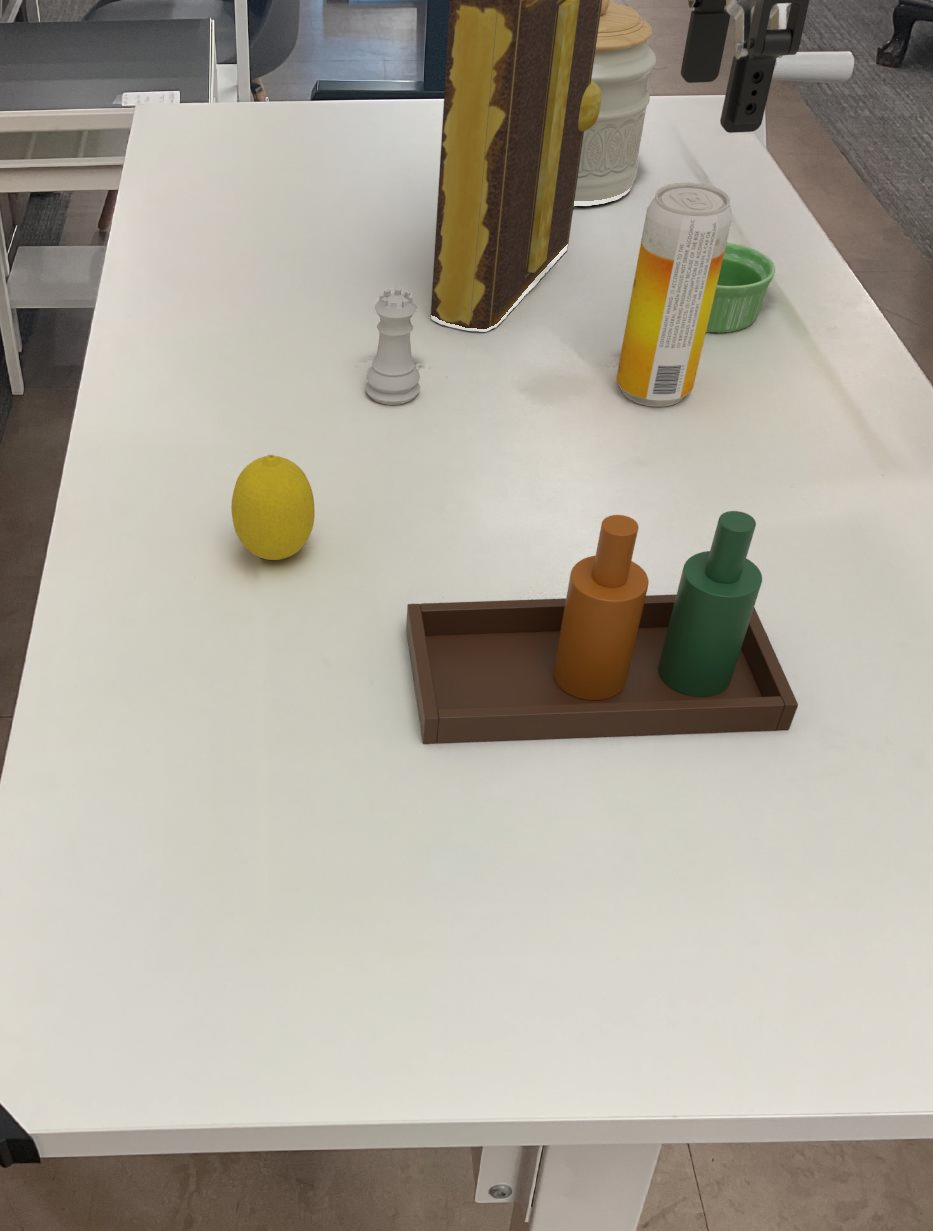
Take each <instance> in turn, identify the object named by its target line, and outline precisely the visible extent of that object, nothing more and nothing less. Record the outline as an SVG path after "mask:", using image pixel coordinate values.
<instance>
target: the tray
mask: <svg viewBox="0 0 933 1231" xmlns="http://www.w3.org/2000/svg"><path fill="white" fill-rule="evenodd" d="M676 595H677V593H676V594H652V595H651V594H649V595H647V594H646V597H645V602H644V606H643V610H642V615H641V619H640V623H639V628H638V632H637V636H636V641H635V645H634V649H633V654H632V658H631V662H630V667H629V671H628V675H627V680H626V684H625V686H624V688H623V689H622V691H621V692H620V693H618V694H617V695H615V696H614V697H611V698H609V699H605V700H597V701H592V700H584V699H580V698H576V697H574V696H571V695H569V694H568V693H566V692H565V691H563V690H562V689H561V688H560V687H559V686H558V685H557V683H556V681H555V678H554V666H555V660H556V655H557V649H558V643H559V637H560V632H561V626H562V620H563V614H564V608H565V603H566V598H562V597H561V598H537V599H535V598H534V599H512V600H509V599H508V600H482V601H481V600H480V601H478V600H477V601H454V602H426V603H425V602H424V603H422V602H421V603H407V606H406V622H405V623H406V624H405V630H406V638H407V644H408V645H407V646H408V651H409V658H410V665H411V670H412V671H411V672H412V678H413V685H414V693H415V698H416V707H417V712H418V719H419V726H420V733H421V739H422V744H423V745H442V744H443V745H444V744H466V743H467V744H468V743H493V742H497V743H498V742H521V741H548V740H572V739H573V740H575V739H601V738H623V737H624V738H627V737H628V738H629V737H651V736H653V737H655V736H675V735H676V736H679V735H680V736H681V735H703V734H727V733H730V734H731V733H732V734H733V733H754V732H755V733H756V732H757V733H758V732H781V731H782V732H783V731H789V730H790V728H791V725H792V723H793V720H794V718H795V715H796V712H797V709H798V706H799V703H798V701H797V698H796V696H795V694H794V692H793V690H792V688H791V685H790V683H789V681H788V679H787V676H786V674H785V672H784V669H783V667H782V665H781V663H780V661H779V659H778V656H777V654H776V652H775V650H774V647H773V645H772V643H771V640H770V639H769V636H768V633H767V632H766V630H765V627H764V625H763V623H762V621H761V619H760V616H759V614H758V612H757V610H756V607H755V606H754V609H753V612H752V615H751V619H750V622H749V625H748V628H747V631H746V635H745V638H744V641H743V644H742V647H741V650H740V654H739V657H738V660H737V663H736V666H735V670H734V673H733V676H732V679H731V682H730V684H729V686H728V687H727V688H726V689H725V690H724V691H723V692H721V693H719V694H716V695H713V696H708V697H696V696H689V695H685V694H682V693H680V692H677V691H675V690H674V689H672V688H670V687H669V686H668V685H667V684H665V683H664V681H663V680H662V679H661V677H660V675H659V671H658V666H659V662H660V658H661V654H662V650H663V646H664V642H665V638H666V634H667V630H668V626H669V622H670V618H671V614H672V610H673V607H674V603H675V599H676Z"/></svg>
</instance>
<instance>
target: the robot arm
mask: <svg viewBox="0 0 933 1231" xmlns="http://www.w3.org/2000/svg"><path fill="white" fill-rule="evenodd" d="M687 2H688V7H689V9H694V10H691V12H690V17H689V22H688V27H687V28H688V29H687V33H686V34H687V35H686V40H685V45H684V51H683V57H682V62H681V67H680V76H681V77H682V79H683V80H684V81H685V82H686V83H688V84H697V83H698V84H699V83H712V82H714V81H716V79H717V78H718V76H719V75H720V70H721V65H722V61H723V56H724V50H725V45H726V42H727V35H728V30H729V25H730V20H731V17H732V18H733V19H734V47H733V48H734V56H733V57H732V61H731V66H730V70H729V76H728V81H727V85H726V91H725V95H724V100H723V105H722V110H721V116H720V121H719V123H720V126H721V127H722V128H723V130H724V131H725V132H726V133H729V134H731V133H753V132H756V131H757V130H758V129H759V128H760V127H761V125H762V123H763V119H764V114H765V110H766V106H767V101H768V99H769V98H768V97H769V93H770V88H771V84H772V79H773V75H774V71H775V67H776V62H777V59H781V58H782V57H783V56H795V55H797V53H798V52H799V49H800V47H801V46H800V45H801V42H802V36H803V32H804V27H805V22H806V17H807V14H808V9H809V4H810V0H687ZM788 8H789V9H790V10H789V12H788ZM768 25H769V29H768Z"/></svg>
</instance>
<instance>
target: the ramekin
mask: <svg viewBox="0 0 933 1231" xmlns="http://www.w3.org/2000/svg"><path fill="white" fill-rule="evenodd" d="M775 273H776V266H775V263H774V262H773V260H772V259H771V258H770V257H769V256H767V255H766V254H764V253H763V252H761V251H759V250H757V249H755V248H753V247H749V246H746V245H742V244H738V243H733V242H729V241H727V243H726V248H725V252H724V256H723V261H722V265H721V269H720V274H719V278H718V282H717V287H716V291H715V295H714V300H713V304H712V308H711V313H710V317H709V321H708V326H707V330H706V333H710V332H718V333H717V334H724V333H723V332H727V333H732V332H731V331H733V332H737V330H738V331H741V330H743V329H747V328H748V327H749V325H750V326H751V325H752V324H753V323H754V322H756V320H757V319H758V316H759V313H760V312H761V311H760V310H761V309H762V305H763V302H764V299H765V295H766V293H767V291H768V287H769V286H770V284H771V282H772V281H773V279H774V276H775ZM740 329H741V330H740ZM720 332H722V333H720Z"/></svg>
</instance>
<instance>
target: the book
mask: <svg viewBox="0 0 933 1231" xmlns="http://www.w3.org/2000/svg"><path fill="white" fill-rule="evenodd" d="M601 7H602V0H449V11H448V12H449V13H448V29H447V45H446V59H445V60H446V61H445V75H444V76H445V79H444V92H443V110H442V123H441V124H442V127H441V140H440V141H441V142H440V158H439V172H438V189H437V190H438V191H437V206H436V208H437V209H436V220H435V222H436V223H435V238H434V239H435V240H434V254H433V255H434V256H433V268H432V269H433V271H432V288H431V300H430V301H431V302H430V316H431V315H432V316H435V317H437V318H438V319H439V320H442V321H445V322H446V323H450V324H455V325H459V326H462V327H465V328H477V329H487V328H489V327H491V326H494V325H495V324H497V323H498V322H499V321H500V320H501V318H502V317H503V316H504V315H505V314H506V312H508V310H509V309H510V308H511V307H512V306H513V304H514V303H515V302H516V301H517V300H518V298H519V297H520V296H521V295H522V293H523V292H524V291H525V290H526V289H527V288H528V286H529V285H530V284H531V283H532V282H533V281H534V280H535V278H536V277H537V276H538V275H539V274H540V273H541V272H542V271H543V270H544V269H545V268H546V267H547V265H548V264H549V263H550V262H551V261H552V260H553V259H554V258H555V257H556V256H557V255H558V254H559V252H560V251H561V250H562V249H563V248H564V247H565V246H566V245H567V244H568V245H569V242H570V235H571V229H572V220H573V215H574V214H573V213H574V208H575V207H574V200H575V193H576V186H577V179H578V171H579V164H580V157H581V150H582V143H583V136H584V131H586V130H587V129H589V128H590V127H592V126H593V125H594V124H595V123H596V120H597V118H598V116H599V113H600V106H601V100H602V95H601V89H600V88H599V87H598V85H597V84H596V83H595V82H594V81H593V80H591V78H592V71H593V64H594V57H595V50H596V43H597V36H598V28H599V21H600V14H601Z"/></svg>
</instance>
